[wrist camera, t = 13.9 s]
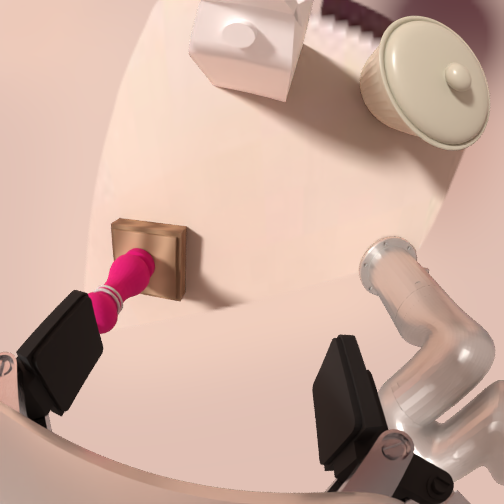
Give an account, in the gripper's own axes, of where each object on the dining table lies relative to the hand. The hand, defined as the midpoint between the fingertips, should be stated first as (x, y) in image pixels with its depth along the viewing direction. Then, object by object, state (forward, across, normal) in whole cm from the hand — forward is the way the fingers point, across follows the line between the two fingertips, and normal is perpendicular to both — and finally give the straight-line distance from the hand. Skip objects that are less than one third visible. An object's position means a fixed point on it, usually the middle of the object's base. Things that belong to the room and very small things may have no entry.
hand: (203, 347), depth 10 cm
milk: (+38, +2, -20) cm, 43 cm away
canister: (+38, -21, -20) cm, 48 cm away
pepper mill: (+34, +19, +17) cm, 43 cm away
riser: (+38, +18, +17) cm, 46 cm away
